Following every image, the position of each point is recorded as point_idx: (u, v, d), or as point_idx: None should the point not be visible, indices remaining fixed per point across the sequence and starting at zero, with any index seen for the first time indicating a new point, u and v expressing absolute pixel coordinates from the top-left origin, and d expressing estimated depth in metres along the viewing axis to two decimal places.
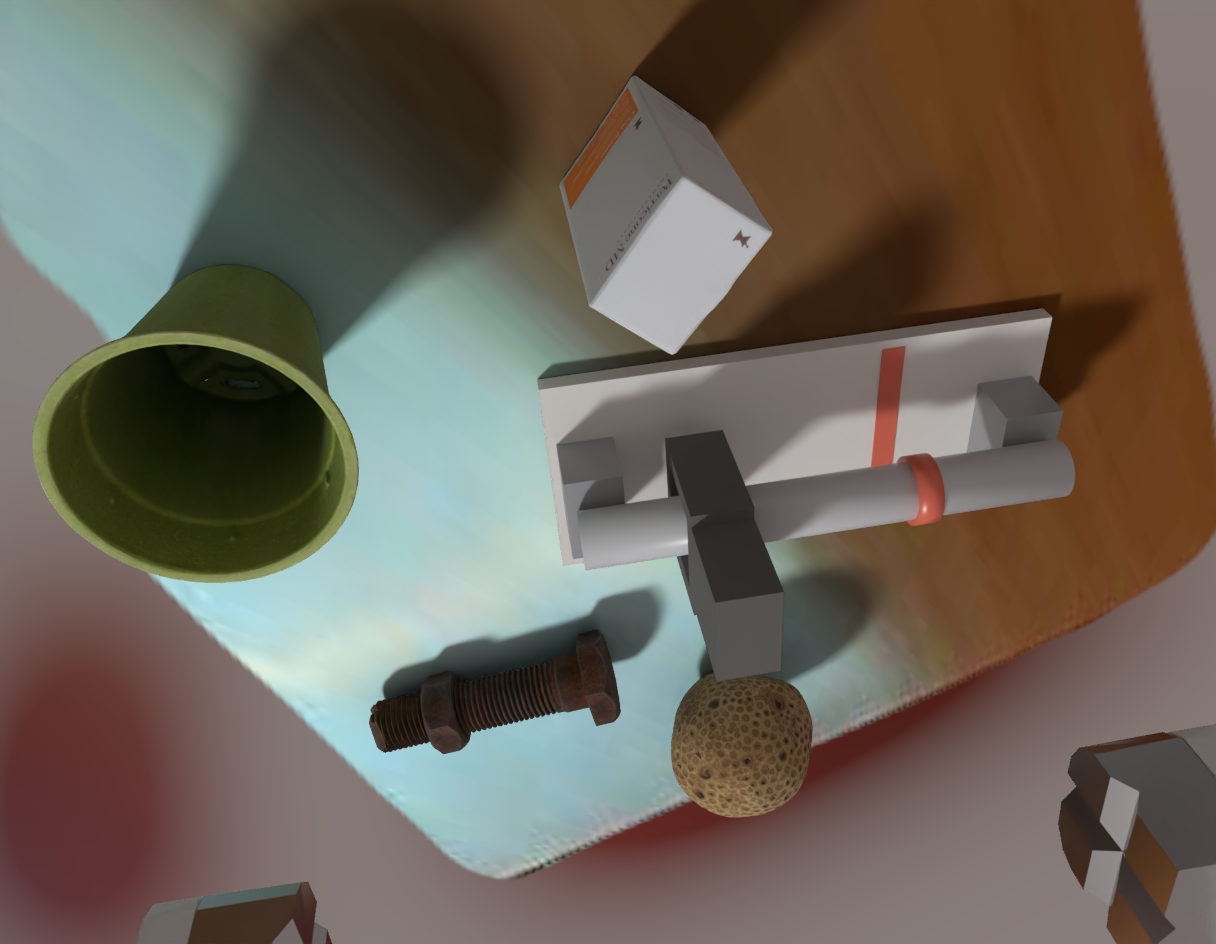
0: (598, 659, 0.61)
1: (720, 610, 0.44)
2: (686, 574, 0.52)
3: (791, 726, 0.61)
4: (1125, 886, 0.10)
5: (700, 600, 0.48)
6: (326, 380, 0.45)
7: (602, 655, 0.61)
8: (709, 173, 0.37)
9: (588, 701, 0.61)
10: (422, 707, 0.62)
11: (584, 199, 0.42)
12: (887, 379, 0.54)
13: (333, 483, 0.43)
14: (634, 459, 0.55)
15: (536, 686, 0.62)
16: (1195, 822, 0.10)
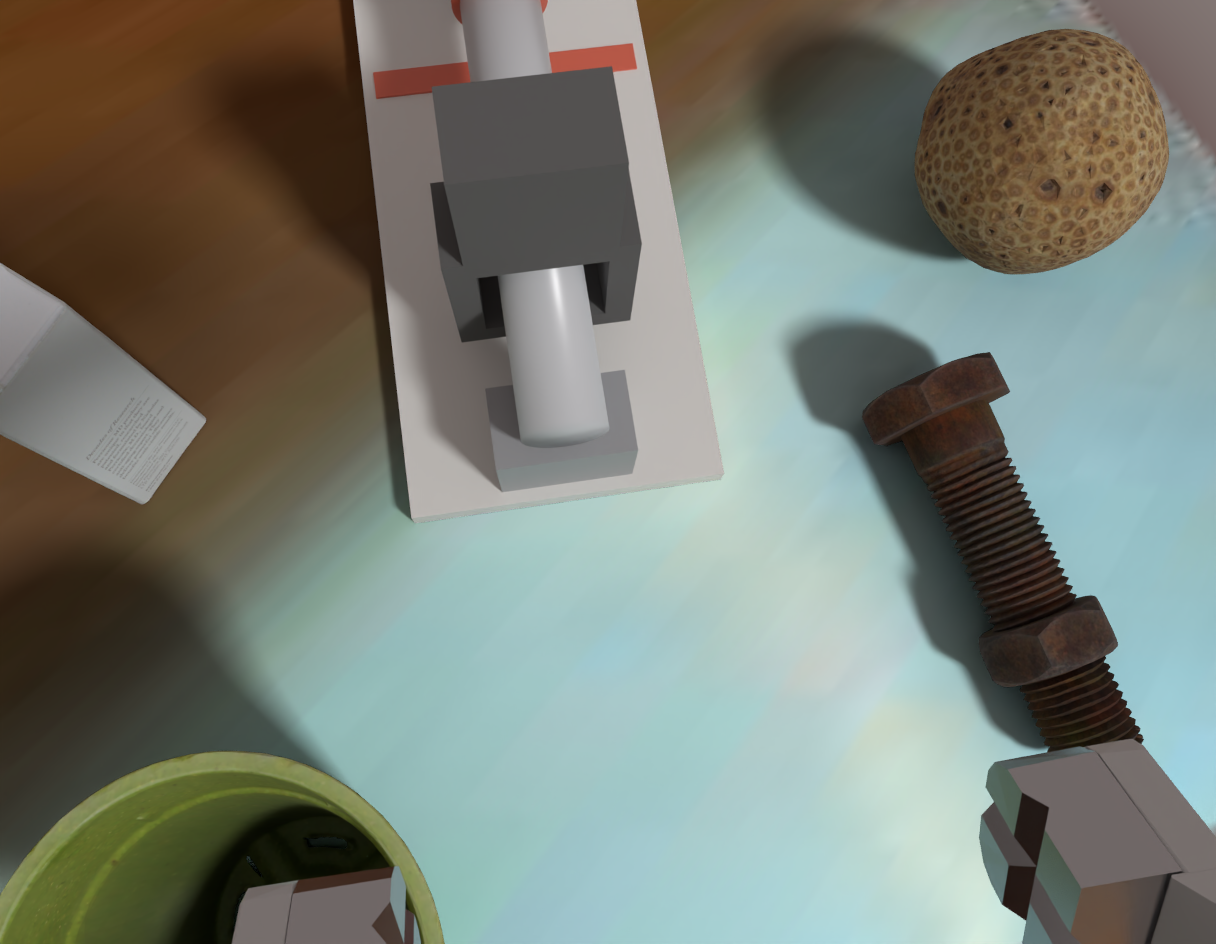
0: (879, 404, 0.38)
1: (462, 175, 0.27)
2: (609, 272, 0.34)
3: (964, 76, 0.37)
4: (1038, 902, 0.10)
5: (557, 228, 0.31)
6: None
7: (875, 400, 0.38)
8: None
9: (945, 406, 0.36)
10: (1021, 682, 0.36)
11: None
12: (419, 84, 0.43)
13: (315, 795, 0.28)
14: None
15: (952, 496, 0.37)
16: (1102, 838, 0.10)
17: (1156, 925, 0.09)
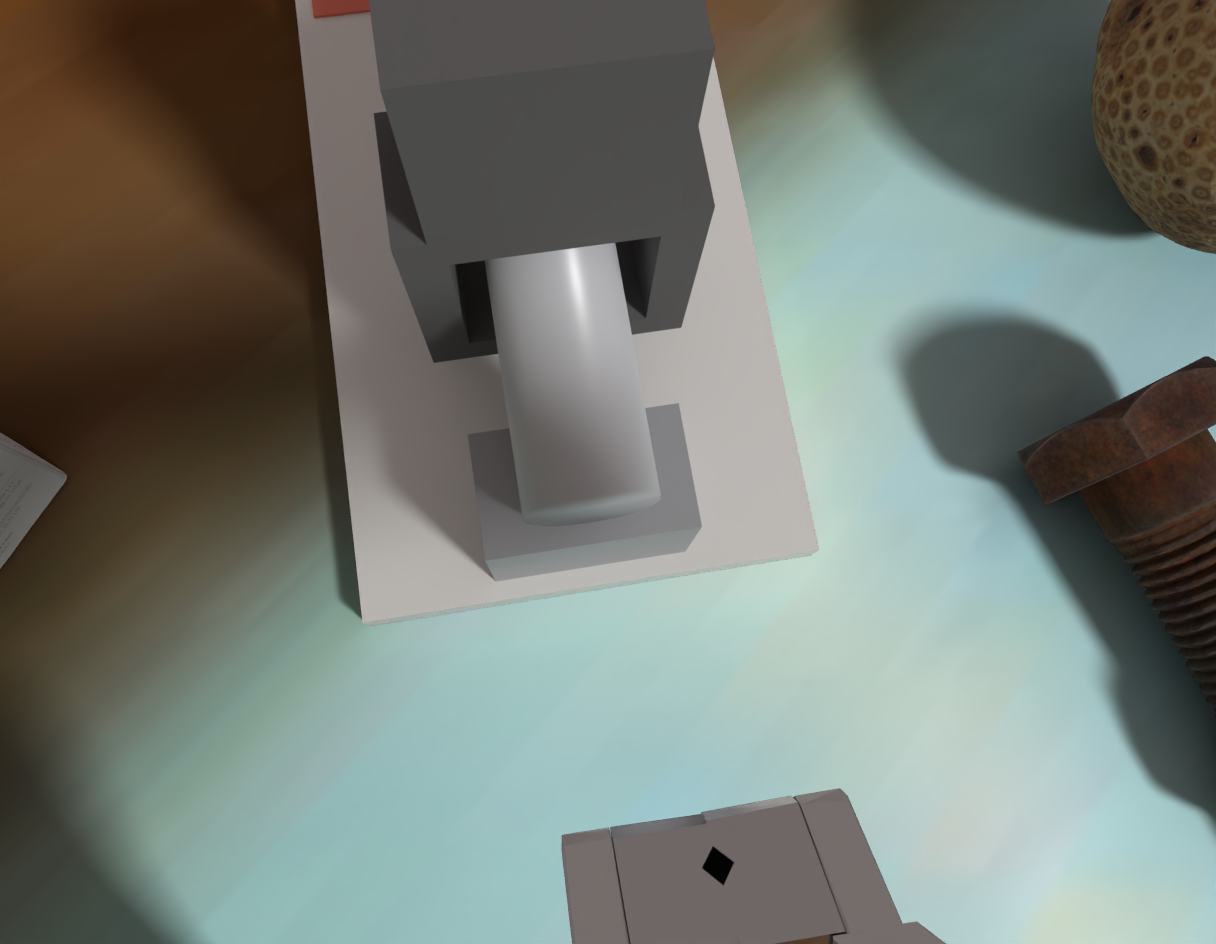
0: (1053, 448, 0.26)
1: (412, 73, 0.15)
2: (658, 255, 0.22)
3: None
4: None
5: (581, 178, 0.18)
6: None
7: (1043, 440, 0.26)
8: None
9: (1165, 446, 0.24)
10: None
11: None
12: None
13: None
14: None
15: (1176, 575, 0.25)
16: (776, 896, 0.09)
17: None
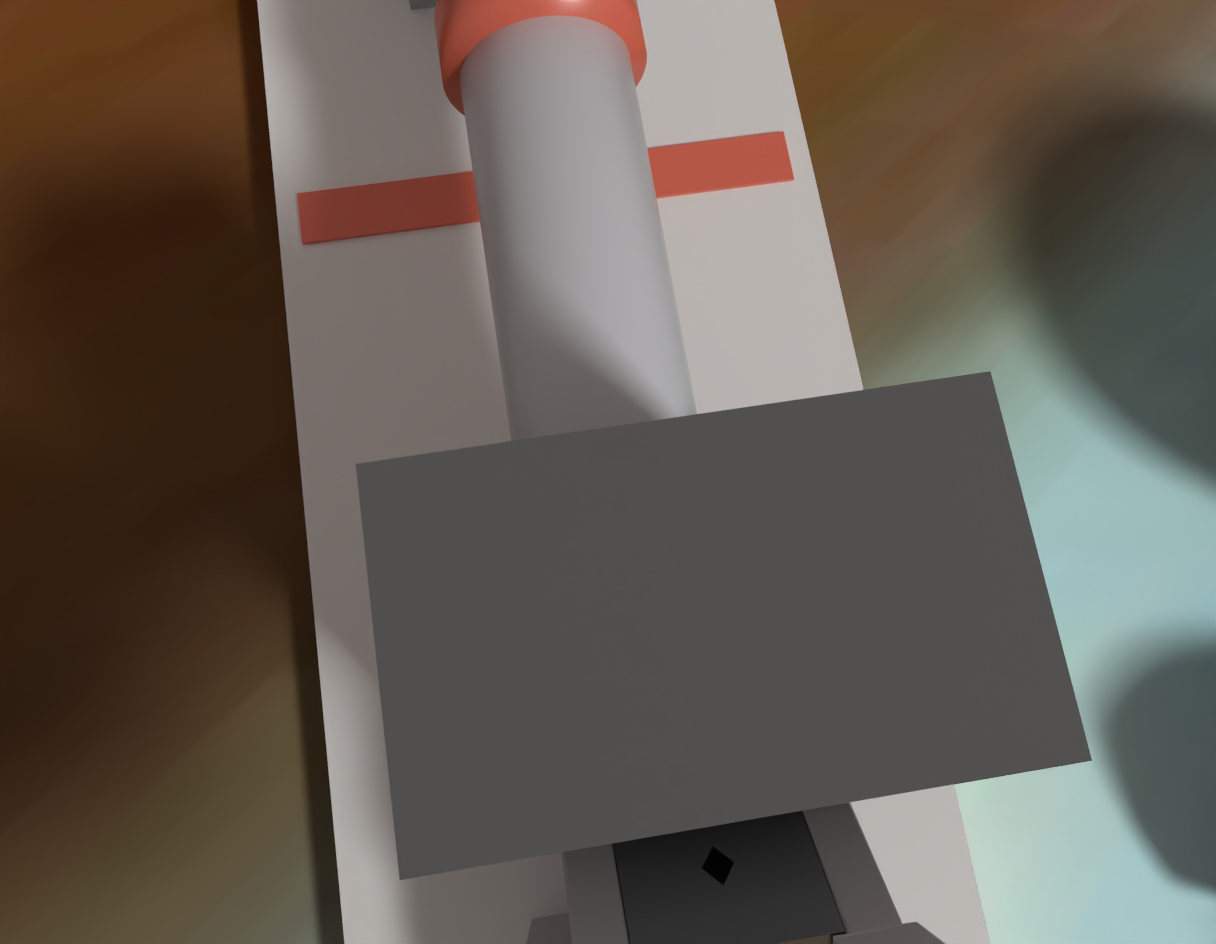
0: None
1: (469, 837, 0.07)
2: None
3: None
4: None
5: None
6: None
7: None
8: None
9: None
10: None
11: None
12: (385, 215, 0.23)
13: None
14: None
15: None
16: (776, 896, 0.09)
17: None
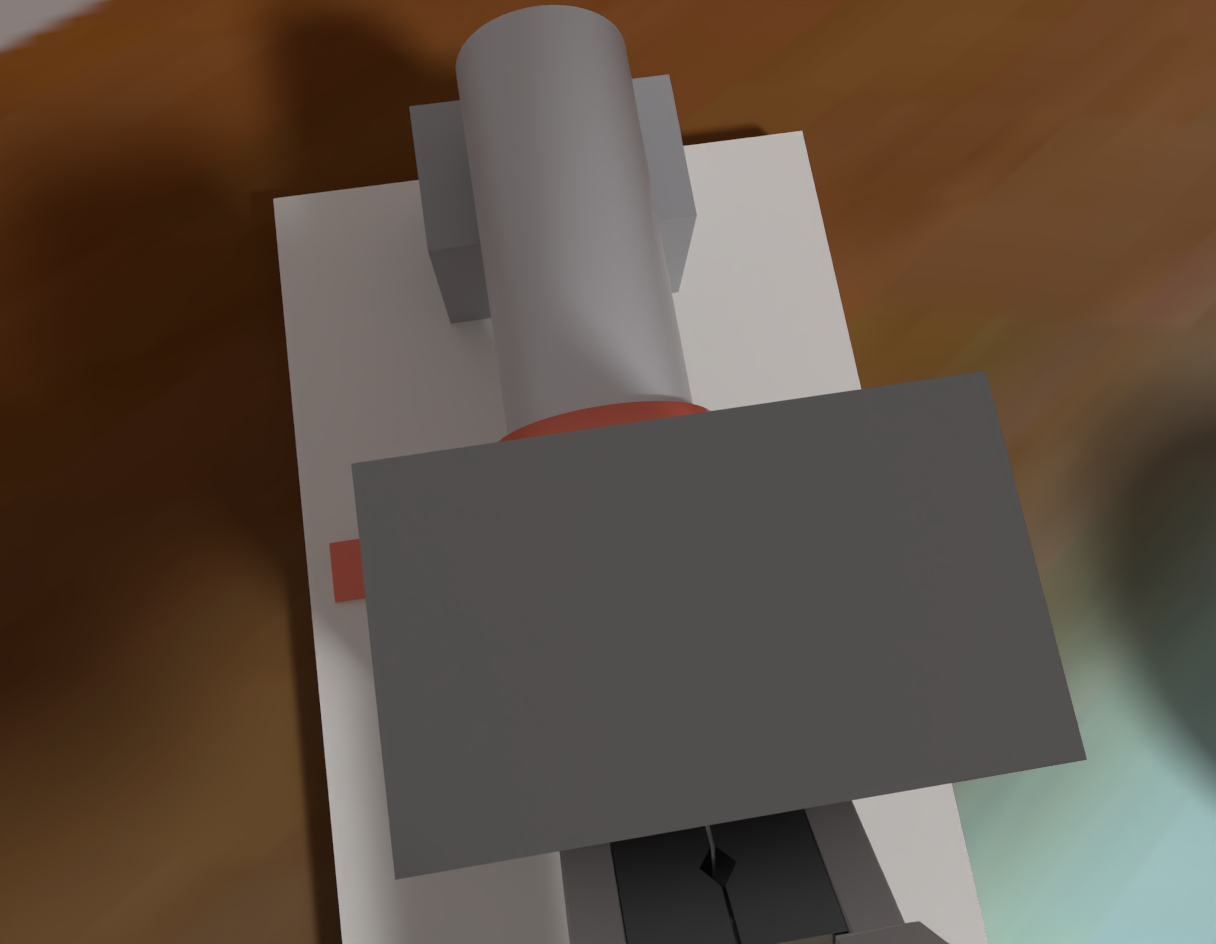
0: None
1: (464, 836, 0.07)
2: None
3: None
4: None
5: None
6: None
7: None
8: None
9: None
10: None
11: None
12: None
13: None
14: None
15: None
16: (779, 895, 0.09)
17: None
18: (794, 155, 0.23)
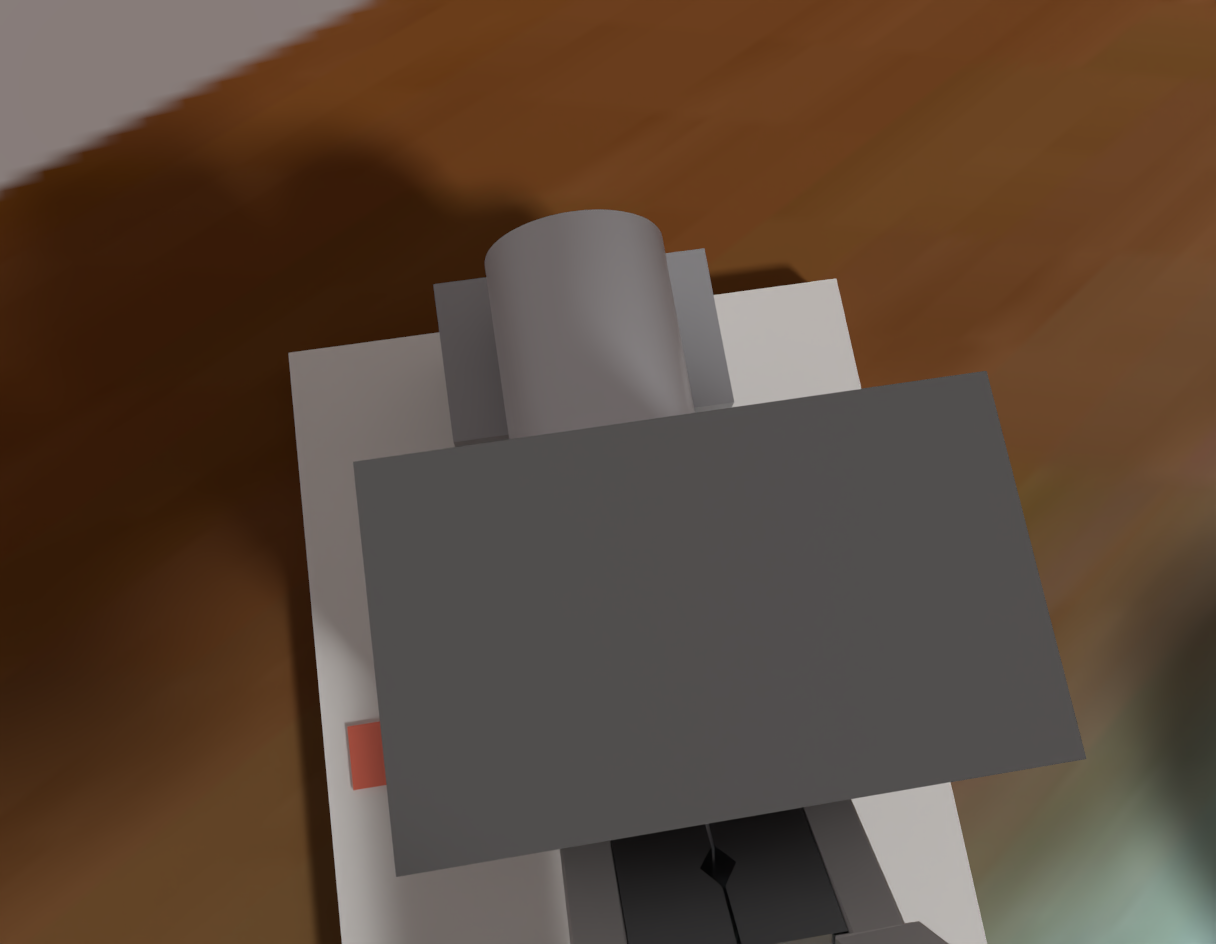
0: None
1: (463, 834, 0.07)
2: None
3: None
4: None
5: None
6: None
7: None
8: None
9: None
10: None
11: None
12: None
13: None
14: None
15: None
16: (778, 895, 0.09)
17: None
18: (828, 304, 0.23)
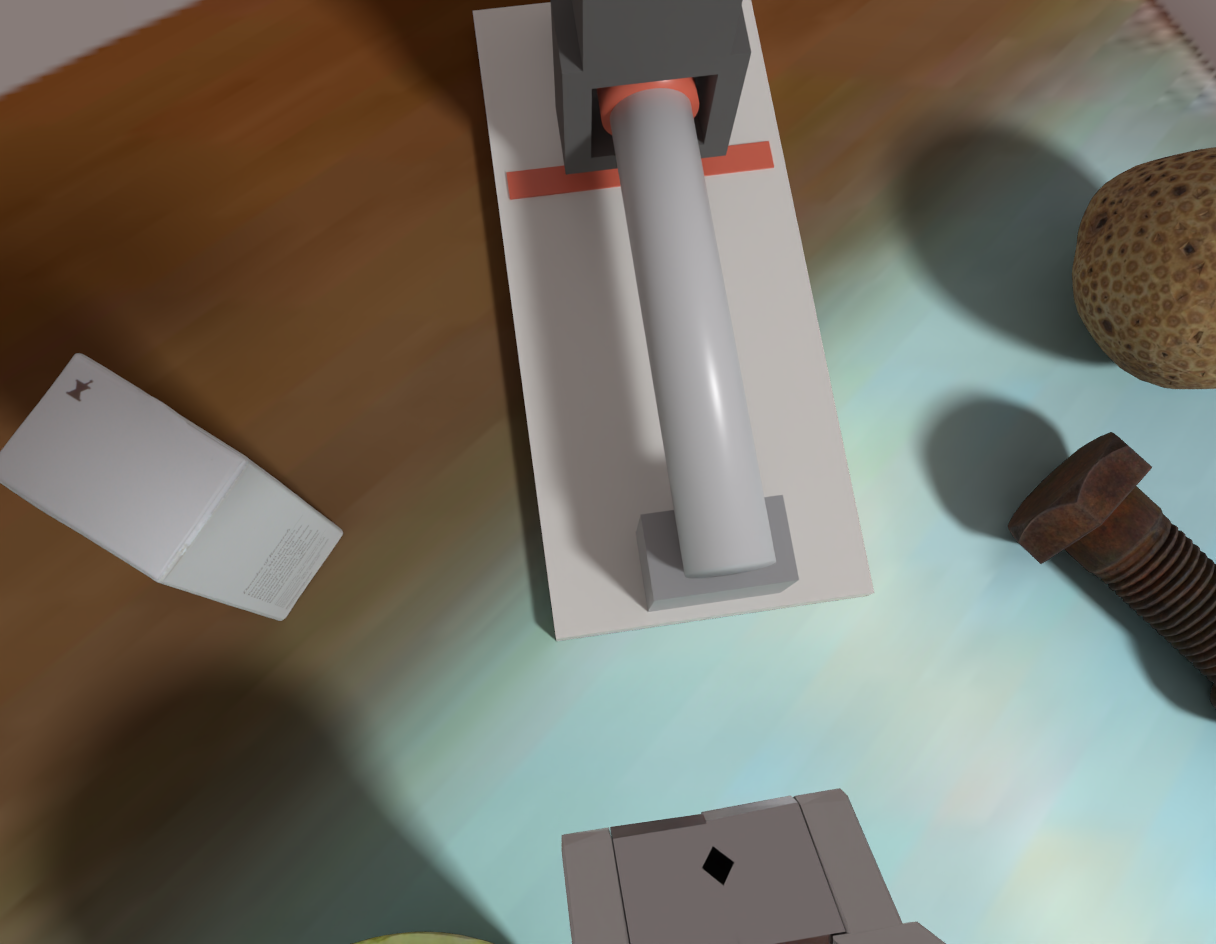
0: (1035, 527, 0.37)
1: None
2: (715, 89, 0.36)
3: (1132, 191, 0.36)
4: None
5: (676, 26, 0.33)
6: None
7: (1026, 523, 0.37)
8: None
9: (1109, 512, 0.35)
10: None
11: None
12: (553, 184, 0.42)
13: None
14: None
15: (1141, 587, 0.37)
16: (776, 896, 0.09)
17: None
18: None
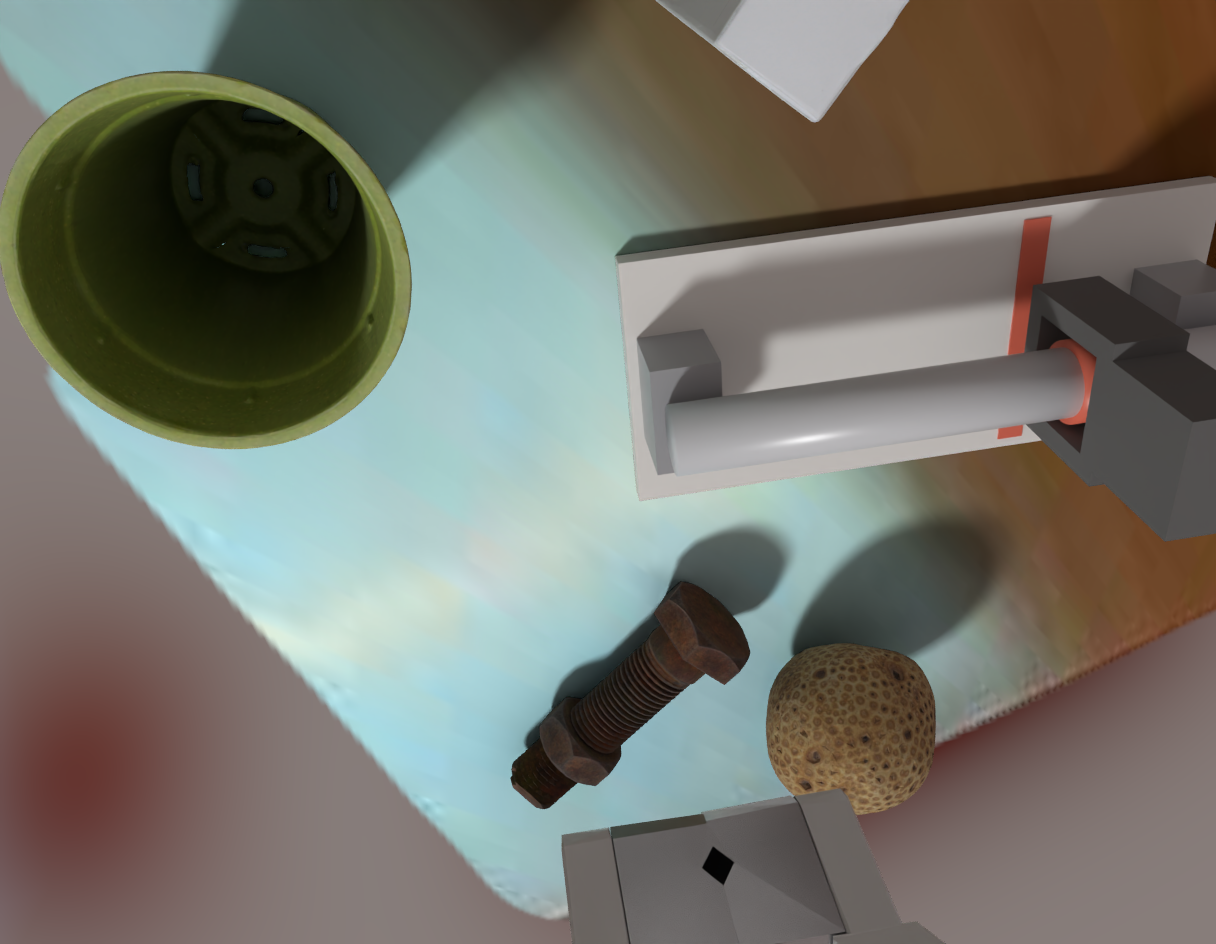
0: (679, 613, 0.51)
1: (1195, 434, 0.35)
2: (1069, 443, 0.43)
3: (914, 700, 0.51)
4: None
5: (1124, 451, 0.39)
6: None
7: (682, 606, 0.51)
8: None
9: (691, 663, 0.50)
10: (544, 748, 0.55)
11: None
12: (1028, 260, 0.46)
13: (377, 321, 0.34)
14: (728, 360, 0.46)
15: (640, 673, 0.53)
16: (776, 896, 0.09)
17: None
18: None
